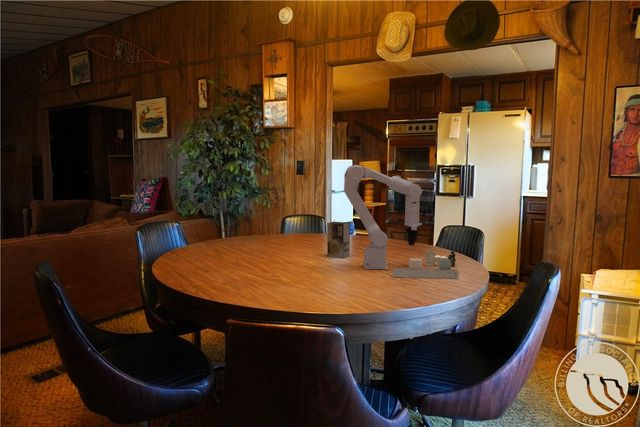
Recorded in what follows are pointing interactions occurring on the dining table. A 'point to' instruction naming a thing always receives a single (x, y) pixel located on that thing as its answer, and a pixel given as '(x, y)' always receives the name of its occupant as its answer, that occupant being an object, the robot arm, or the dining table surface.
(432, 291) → the dining table surface
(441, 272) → the rail
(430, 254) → the valve
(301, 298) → the dining table surface
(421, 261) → the block
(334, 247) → the coffee box
